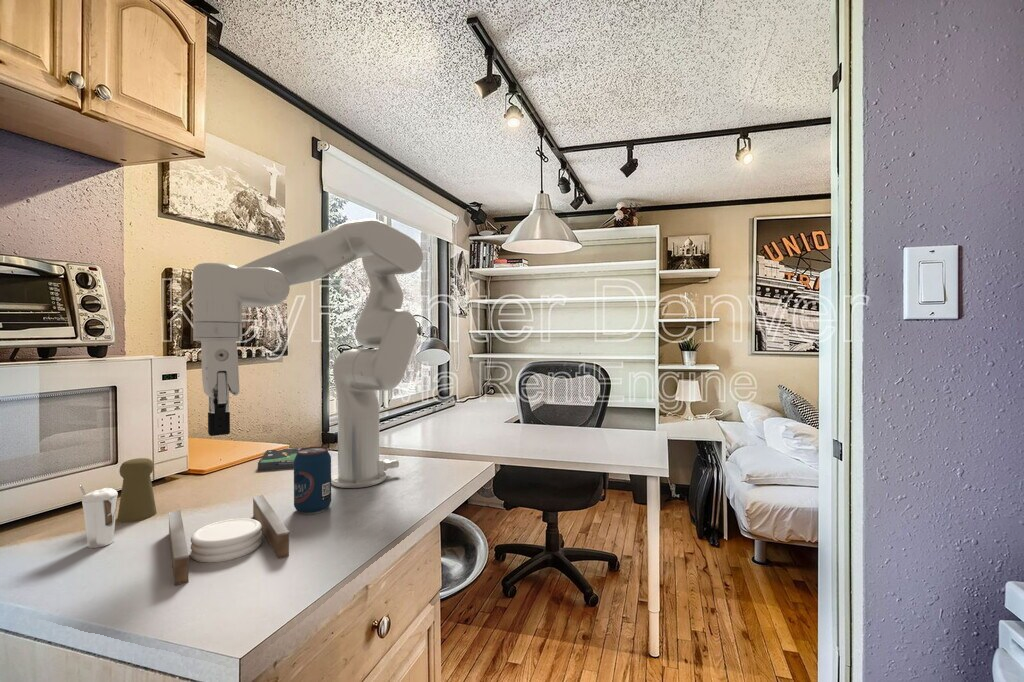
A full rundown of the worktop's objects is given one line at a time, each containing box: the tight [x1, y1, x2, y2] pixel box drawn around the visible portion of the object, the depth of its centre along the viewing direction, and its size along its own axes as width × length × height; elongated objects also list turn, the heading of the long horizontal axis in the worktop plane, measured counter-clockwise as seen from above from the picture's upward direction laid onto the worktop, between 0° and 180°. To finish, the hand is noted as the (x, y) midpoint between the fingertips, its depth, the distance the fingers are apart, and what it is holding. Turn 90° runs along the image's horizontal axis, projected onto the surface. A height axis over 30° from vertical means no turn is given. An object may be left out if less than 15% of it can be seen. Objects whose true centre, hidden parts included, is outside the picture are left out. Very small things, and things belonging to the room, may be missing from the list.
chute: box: [168, 494, 290, 586], centre depth 80 cm, size 15×22×4 cm
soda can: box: [293, 446, 332, 515], centre depth 96 cm, size 7×7×12 cm
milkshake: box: [79, 484, 119, 549], centre depth 80 cm, size 4×5×10 cm
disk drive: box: [257, 447, 303, 472], centre depth 132 cm, size 10×3×15 cm
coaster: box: [190, 517, 263, 563], centre depth 78 cm, size 10×10×4 cm
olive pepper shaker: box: [116, 457, 158, 523], centre depth 92 cm, size 6×6×11 cm
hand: (219, 433), depth 86 cm, fingers closed
